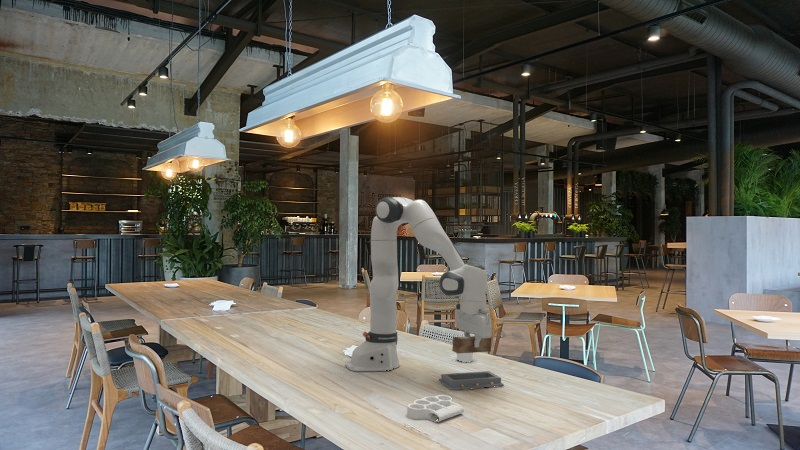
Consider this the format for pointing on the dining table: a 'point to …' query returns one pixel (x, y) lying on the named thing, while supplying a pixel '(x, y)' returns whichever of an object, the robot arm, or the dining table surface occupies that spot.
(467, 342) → the frame block
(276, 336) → the dining table surface
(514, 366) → the dining table surface
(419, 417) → the light grey compartment holder
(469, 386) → the dark grey rectangular tray
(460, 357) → the white cup
